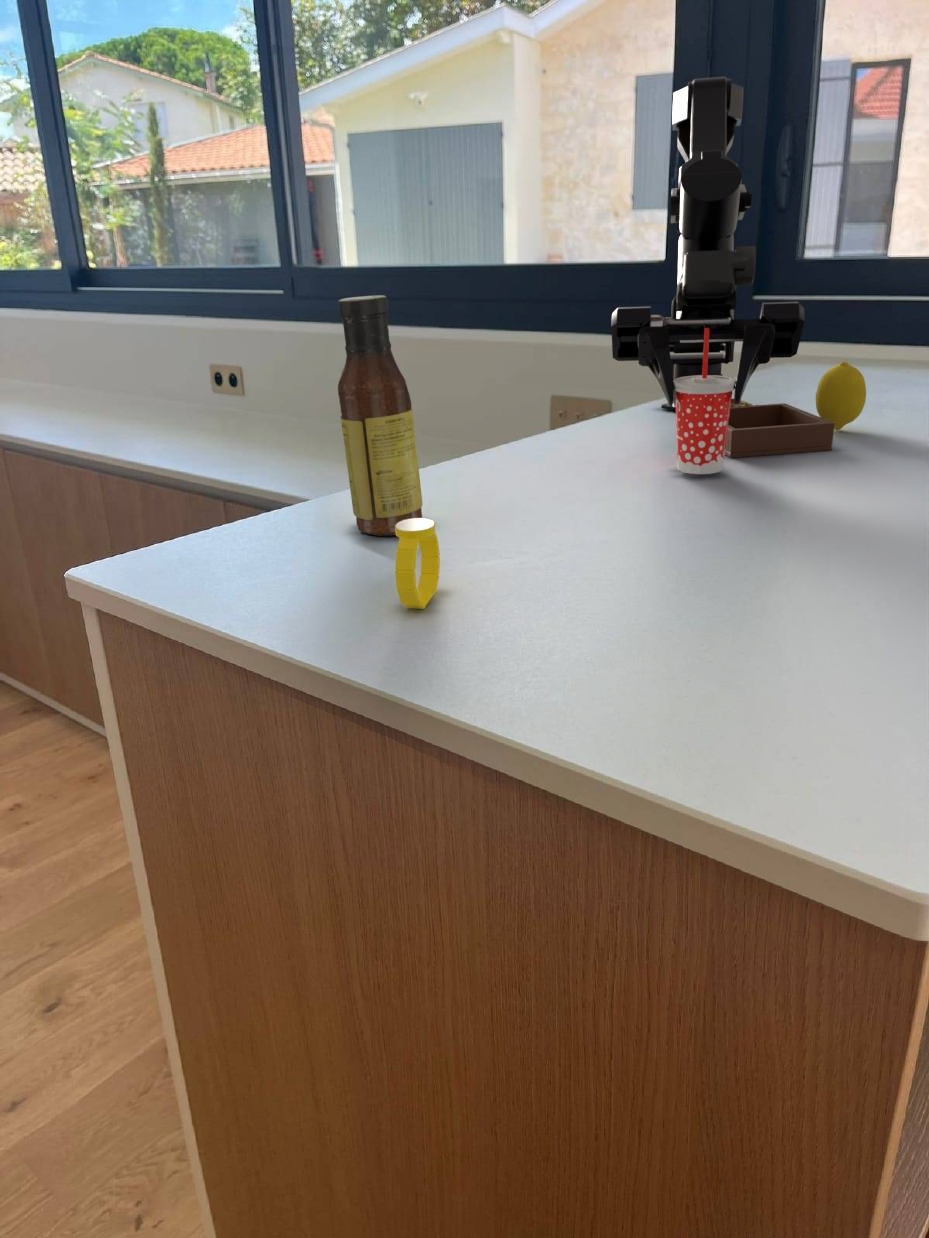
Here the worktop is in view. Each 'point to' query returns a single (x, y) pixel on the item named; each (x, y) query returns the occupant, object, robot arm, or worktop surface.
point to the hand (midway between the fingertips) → (703, 402)
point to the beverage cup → (702, 419)
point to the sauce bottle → (376, 421)
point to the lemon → (841, 395)
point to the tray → (775, 431)
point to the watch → (410, 538)
